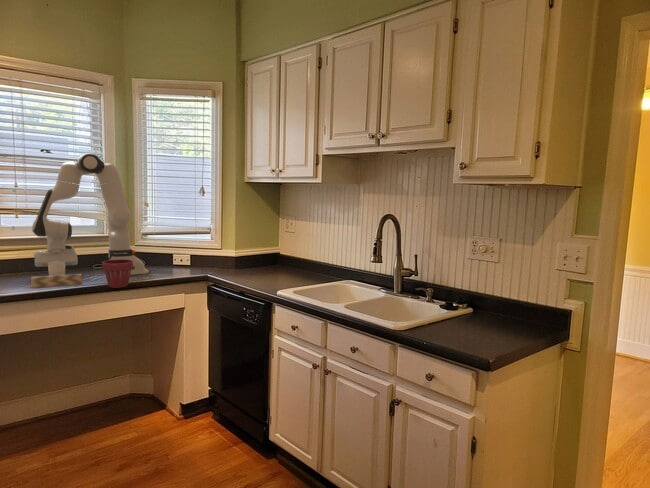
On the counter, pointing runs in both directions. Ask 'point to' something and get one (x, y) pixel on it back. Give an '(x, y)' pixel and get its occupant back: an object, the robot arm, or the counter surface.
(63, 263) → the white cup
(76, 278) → the end stop
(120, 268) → the plant pot
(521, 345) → the counter surface
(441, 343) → the counter surface
